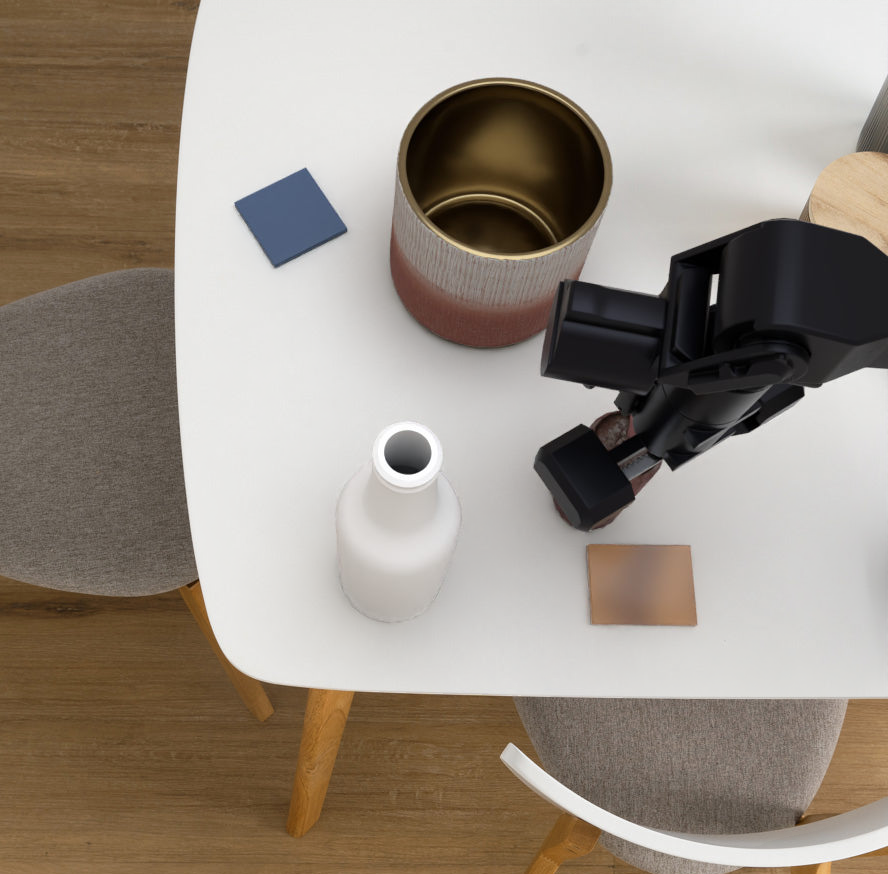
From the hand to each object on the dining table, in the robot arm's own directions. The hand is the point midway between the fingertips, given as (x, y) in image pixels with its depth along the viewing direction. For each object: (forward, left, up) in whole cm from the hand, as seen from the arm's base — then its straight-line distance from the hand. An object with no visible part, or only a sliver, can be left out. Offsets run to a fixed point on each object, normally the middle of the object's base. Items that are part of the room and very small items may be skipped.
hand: (635, 466), depth 73 cm
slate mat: (+8, -40, -13) cm, 43 cm away
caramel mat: (0, +7, -13) cm, 15 cm away
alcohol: (+18, -5, -13) cm, 23 cm away
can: (0, -2, -13) cm, 13 cm away
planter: (-5, -26, -13) cm, 29 cm away
